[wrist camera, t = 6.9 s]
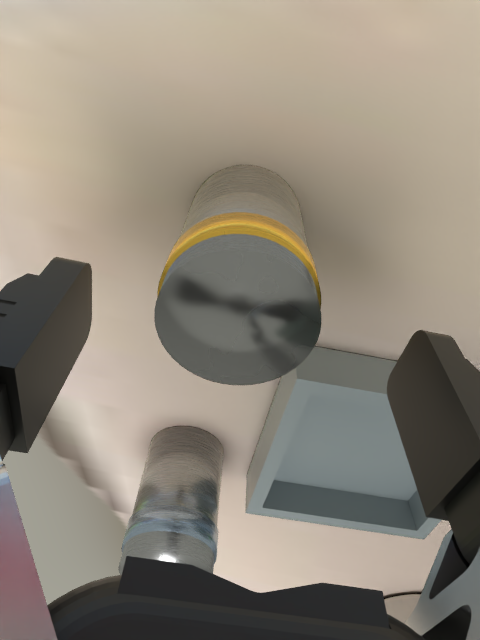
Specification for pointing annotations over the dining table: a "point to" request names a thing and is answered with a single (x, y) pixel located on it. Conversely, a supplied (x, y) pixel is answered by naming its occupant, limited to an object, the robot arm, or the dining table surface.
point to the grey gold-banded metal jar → (240, 282)
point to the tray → (336, 450)
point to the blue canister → (177, 500)
